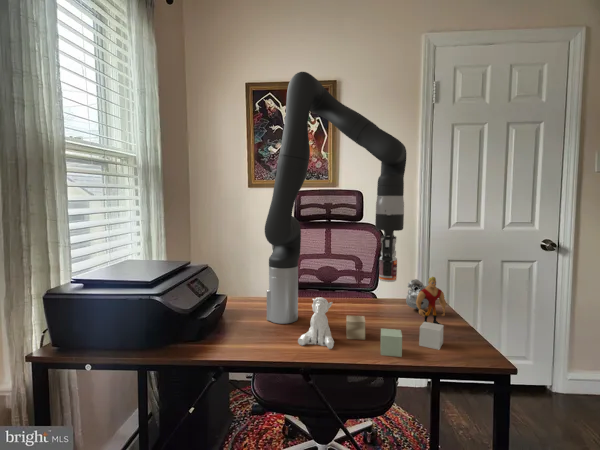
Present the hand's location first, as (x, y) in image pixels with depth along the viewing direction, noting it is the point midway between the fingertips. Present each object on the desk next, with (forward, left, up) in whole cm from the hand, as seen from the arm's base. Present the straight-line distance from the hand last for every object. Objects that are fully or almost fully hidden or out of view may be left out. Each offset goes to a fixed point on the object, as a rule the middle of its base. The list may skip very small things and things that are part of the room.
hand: (387, 273), depth 98 cm
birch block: (-8, -3, -18) cm, 20 cm away
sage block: (+2, -11, -18) cm, 21 cm away
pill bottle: (0, 0, -2) cm, 2 cm away
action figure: (+13, +13, -18) cm, 26 cm away
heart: (+10, +25, -18) cm, 32 cm away
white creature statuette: (-17, -10, -18) cm, 27 cm away
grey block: (+12, -3, -18) cm, 21 cm away
